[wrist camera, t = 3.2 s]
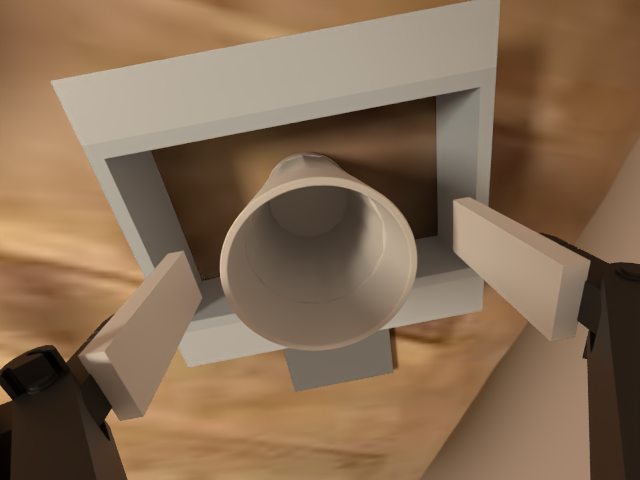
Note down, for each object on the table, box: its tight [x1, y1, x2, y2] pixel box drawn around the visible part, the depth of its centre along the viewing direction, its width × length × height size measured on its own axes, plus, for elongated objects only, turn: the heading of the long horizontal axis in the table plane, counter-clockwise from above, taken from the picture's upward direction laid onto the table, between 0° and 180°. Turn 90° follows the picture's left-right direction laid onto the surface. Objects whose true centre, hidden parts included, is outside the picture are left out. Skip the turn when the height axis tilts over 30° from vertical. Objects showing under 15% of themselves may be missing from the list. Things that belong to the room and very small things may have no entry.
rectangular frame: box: [50, 0, 500, 367], centre depth 21 cm, size 19×22×6 cm
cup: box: [220, 152, 417, 351], centre depth 18 cm, size 8×8×12 cm
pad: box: [283, 329, 393, 392], centre depth 29 cm, size 10×10×1 cm
